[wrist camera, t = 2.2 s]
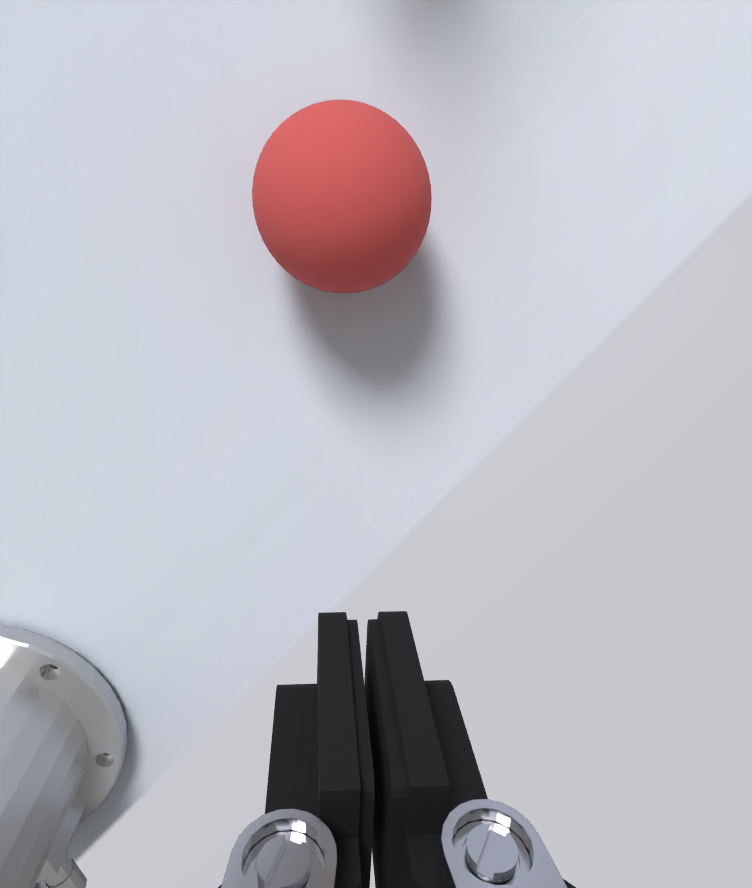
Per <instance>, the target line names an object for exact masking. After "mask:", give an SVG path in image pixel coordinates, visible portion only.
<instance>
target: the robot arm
mask: <svg viewBox="0 0 752 888" xmlns="http://www.w3.org/2000/svg"><path fill="white" fill-rule="evenodd" d="M317 667H318V668H317V684H294V685H277V689H276V699H275V710H274V721H273V732H272V743H271V754H270V765H269V775H268V786H267V797H266V808H265V814H264V815H262V816H261V817H259V818H258V819H256V820H255V821H253V822H252V823H250V824H249V825H248V826H247V827H246V828H245V830H244V831H243V832H242V833H241V834H240V835H239V837H238V839H237V841H236V843H235V845H234V848H233V849H232V852H231V855H230V858H229V862H228V865H227V869H226V872H225V875H224V879H223V882H222V885H220V886H219V887H218V888H369V886H370V869H371V852H372V854H373V864H374V874H375V884H376V885H375V886H376V888H576V887H574V886H573V885H571V884H570V883H568V882H567V881H566V880H564V879H563V878H562V877H561V875H560V873H559V871H558V869H557V867H556V866H555V864H554V862H553V860H552V858H551V856H550V854H549V852H548V850H547V849H546V847H545V845H544V843H543V841H542V839H541V837H540V836H539V834H538V832H537V831H536V830H535V828H534V827H533V825H532V824H531V823H530V821H529V820H528V819H527V818H525V817H524V816H523V815H522V814H521V813H519V812H518V811H517V810H516V809H514V808H512V807H510V806H508V805H506V804H504V803H502V802H497V801H493V800H489V799H488V798H487V795H486V792H485V788H484V785H483V782H482V779H481V775H480V772H479V769H478V766H477V763H476V759H475V756H474V753H473V750H472V746H471V743H470V740H469V737H468V734H467V730H466V727H465V724H464V721H463V717H462V714H461V711H460V708H459V705H458V702H457V698H456V695H455V692H454V689H453V686H452V684H451V682H450V681H449V680H435V681H424V679H423V675H422V670H421V667H420V663H419V658H418V654H417V650H416V646H415V642H414V639H413V634H412V630H411V626H410V622H409V618H408V614H407V612H405V611H400V612H399V611H398V612H379V613H378V619H375V620H374V619H372V620H368V626H367V645H366V666H365V667H366V668H365V686H364V678H363V669H362V660H361V651H360V642H359V633H358V624H357V620H347V616H346V612H335V613H319V615H318V666H317ZM127 743H128V740H127V725H126V720H125V717H124V714H123V711H122V707H121V704H120V702H119V700H118V699H117V697H116V695H115V694H114V692H113V690H112V688H111V687H110V685H109V684H108V683H107V681H106V680H105V679H104V678H103V677H102V676H101V675H100V674H99V672H98V671H97V670H96V669H95V668H94V667H93V666H92V665H90V664H89V663H88V662H87V661H85V660H84V659H83V658H81V657H80V656H79V655H78V654H76V653H75V652H74V651H72V650H70V649H68V648H66V647H65V646H63V645H61V644H59V643H57V642H55V641H54V640H52V639H50V638H47V637H44V636H41V635H39V634H36V633H33V632H30V631H27V630H25V629H20V628H15V627H10V626H5V625H0V888H43V887H42V886H41V885H40V883H39V882H40V881H43V880H45V881H46V886H47V887H48V888H85V887H86V881H87V879H86V877H85V876H84V874H83V873H82V872H81V870H80V869H79V867H78V866H77V864H76V863H75V862H74V861H73V859H70V857H69V856H68V855H67V852H68V849H69V844H70V841H71V839H72V836H73V834H74V832H75V829H76V827H77V824H78V823H80V822H81V821H83V820H84V819H86V818H87V817H89V816H90V815H91V814H92V813H93V812H94V811H95V810H96V809H97V808H98V807H99V806H100V805H101V804H102V803H103V802H104V801H105V800H106V798H107V796H108V795H109V793H110V792H111V790H112V788H113V787H114V785H115V783H116V781H117V778H118V776H119V773H120V770H121V768H122V765H123V762H124V759H125V754H126V748H127Z"/></svg>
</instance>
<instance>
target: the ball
mask: <svg viewBox="0 0 752 888" xmlns="http://www.w3.org/2000/svg"><path fill="white" fill-rule="evenodd" d="M252 198H253V209H254V215H255V220H256V223H257V226H258V230H259V232H260V234H261V237H262V239H263V241H264V243H265V245H266V246H267V248H268V250H269V252H270V253H271V254H272V256H273V257H274V258H275V260H276V261H277V262H278V263H279V264H280V265H281V266H282V267H283V268H284V269H285V270H286V271H287V272H288V273H290V274H291V275H292V276H293V277H295V278H296V279H298V280H299V281H301V282H303V283H304V284H307V285H309V286H311V287H313V288H316V289H320V290H323V291H327V292H334V293H354V292H361V291H365V290H368V289H371V288H374V287H376V286H379V285H381V284H383V283H385V282H386V281H388V280H390V279H391V278H393V277H394V276H395V275H396V274H398V273H399V272H400V271H401V270H402V269H403V268H404V267H405V266H406V265H407V264H408V263H409V262H410V260H411V259H412V258H413V256H414V255H415V253H416V252H417V250H418V248H419V247H420V245H421V243H422V240H423V238H424V236H425V233H426V230H427V227H428V223H429V218H430V212H431V185H430V180H429V174H428V171H427V167H426V164H425V161H424V159H423V157H422V154H421V152H420V150H419V148H418V147H417V145H416V143H415V142H414V140H413V139H412V137H411V136H410V135H409V134H408V132H407V131H406V130H405V129H404V128H403V127H402V126H401V125H400V124H399V123H398V122H397V121H396V120H395V119H393V118H392V117H391V116H389V115H388V114H386V113H385V112H383V111H381V110H379V109H377V108H375V107H373V106H370V105H368V104H365V103H361V102H356V101H352V100H330V101H324V102H320V103H316V104H312V105H310V106H308V107H305V108H303V109H301V110H299V111H298V112H296V113H294V114H293V115H291V116H290V117H289V118H287V119H286V120H285V121H284V122H283V123H281V125H280V126H279V127H278V128H277V129H276V130H275V131H274V132H273V134H272V135H271V136H270V138H269V139H268V141H267V142H266V144H265V146H264V148H263V150H262V152H261V154H260V157H259V159H258V162H257V165H256V169H255V174H254V178H253V189H252Z"/></svg>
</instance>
